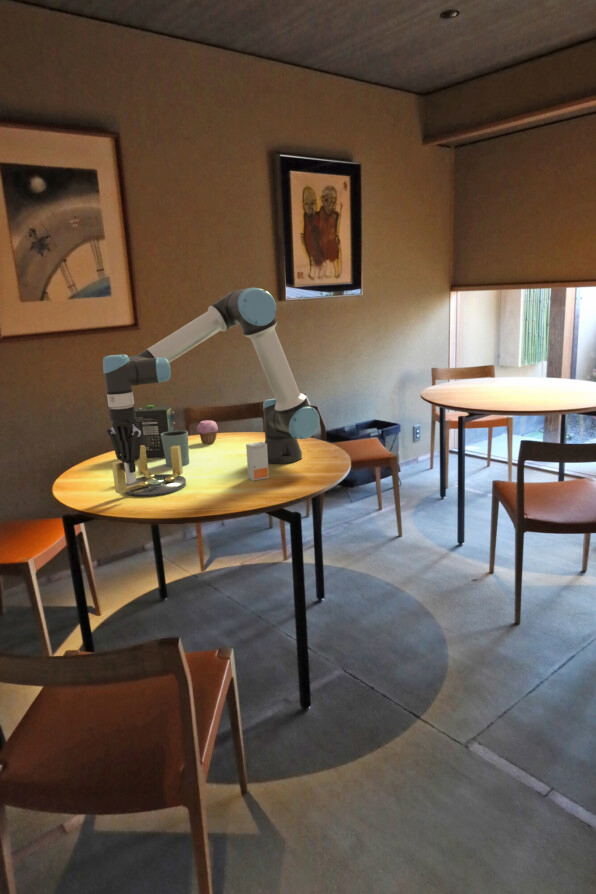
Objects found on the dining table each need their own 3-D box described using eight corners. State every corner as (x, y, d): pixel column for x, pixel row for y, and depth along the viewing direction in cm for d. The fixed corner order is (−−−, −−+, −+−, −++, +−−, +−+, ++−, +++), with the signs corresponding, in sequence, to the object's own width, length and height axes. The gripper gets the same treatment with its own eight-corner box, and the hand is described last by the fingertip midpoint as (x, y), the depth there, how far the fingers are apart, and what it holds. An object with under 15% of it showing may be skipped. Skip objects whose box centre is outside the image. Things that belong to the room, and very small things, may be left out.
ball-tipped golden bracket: (145, 484, 198) (142, 455, 196) (150, 485, 196) (146, 456, 194) (115, 492, 191) (111, 462, 189) (119, 494, 189) (116, 464, 187)
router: (174, 457, 240) (169, 407, 235) (129, 459, 240) (123, 409, 235) (179, 452, 247) (174, 403, 243) (134, 454, 248) (129, 405, 243)
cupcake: (194, 443, 261) (192, 420, 259) (211, 439, 267) (209, 417, 264) (206, 446, 255) (204, 423, 252) (223, 442, 260) (221, 419, 258)
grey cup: (182, 468, 223) (178, 436, 220) (158, 466, 226) (155, 435, 223) (195, 461, 232) (193, 430, 229) (172, 459, 235) (169, 429, 233)
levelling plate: (198, 481, 204) (197, 474, 204) (157, 499, 187) (156, 492, 187) (153, 476, 214) (153, 469, 213) (110, 492, 197) (109, 485, 197)
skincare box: (252, 481, 202) (250, 446, 199) (247, 478, 206) (245, 443, 203) (269, 478, 205) (267, 443, 202) (264, 475, 208) (262, 441, 205)
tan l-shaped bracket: (172, 482, 199) (169, 453, 196) (164, 482, 199) (161, 453, 197) (183, 473, 209) (180, 445, 207) (175, 473, 209) (172, 445, 207)
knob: (155, 478, 204) (152, 450, 202) (147, 480, 203) (144, 452, 200) (146, 471, 213) (143, 444, 211) (138, 473, 212) (135, 446, 210)
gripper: (96, 408, 183) (107, 483, 188) (127, 409, 176) (137, 487, 182) (115, 404, 189) (125, 477, 194) (146, 405, 183) (155, 480, 188)
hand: (131, 482), depth 188 cm, fingers closed
